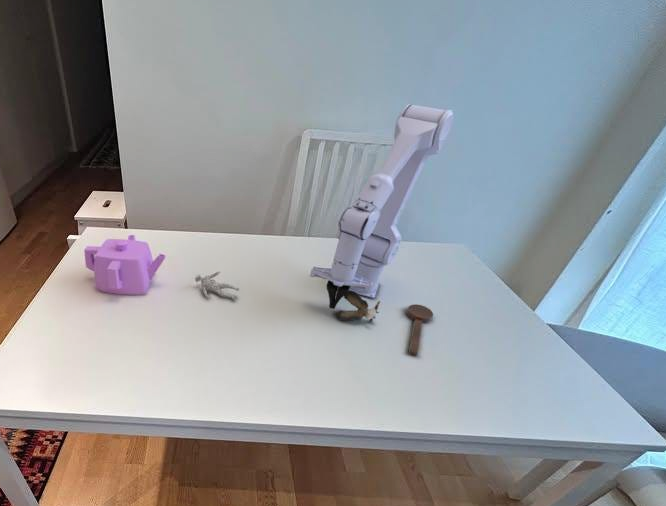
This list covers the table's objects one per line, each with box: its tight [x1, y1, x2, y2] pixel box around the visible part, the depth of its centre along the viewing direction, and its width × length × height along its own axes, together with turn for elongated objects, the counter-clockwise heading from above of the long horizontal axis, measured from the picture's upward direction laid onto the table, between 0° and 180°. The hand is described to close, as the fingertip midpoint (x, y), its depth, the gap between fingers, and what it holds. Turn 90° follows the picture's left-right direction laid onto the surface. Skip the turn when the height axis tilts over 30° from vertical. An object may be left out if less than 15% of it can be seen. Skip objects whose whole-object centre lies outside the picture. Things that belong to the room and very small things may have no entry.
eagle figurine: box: [335, 290, 381, 323], centre depth 96 cm, size 8×7×9 cm
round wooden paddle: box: [405, 303, 434, 357], centre depth 95 cm, size 20×6×1 cm, turn 153°
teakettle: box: [83, 234, 167, 296], centre depth 104 cm, size 17×17×12 cm
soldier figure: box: [194, 271, 240, 300], centre depth 104 cm, size 8×5×12 cm
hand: (332, 306), depth 99 cm, fingers closed
